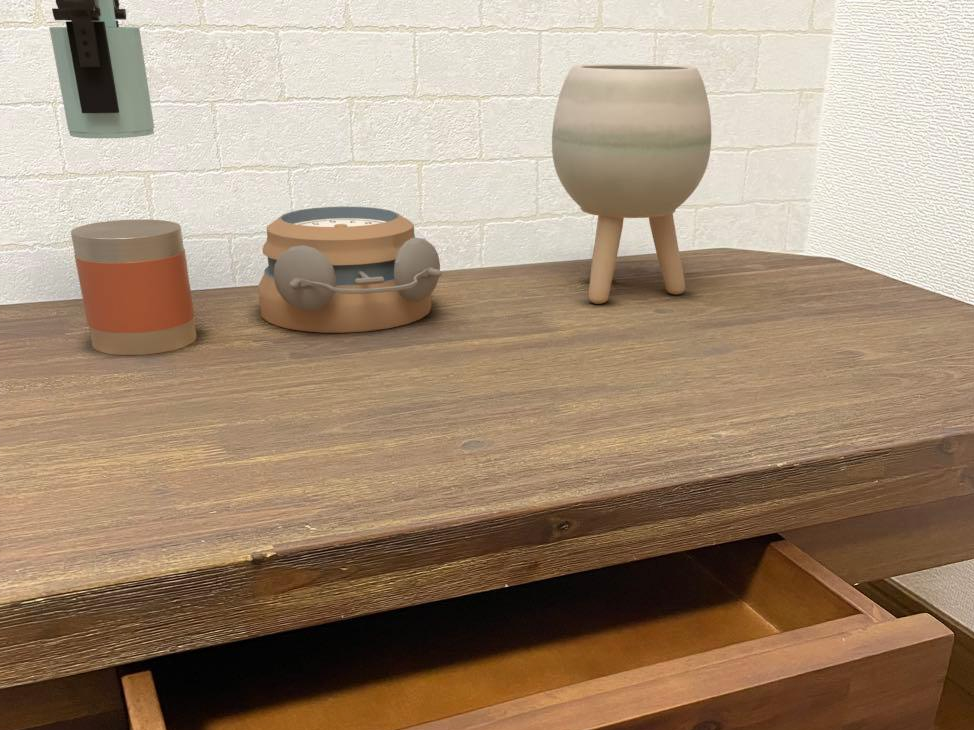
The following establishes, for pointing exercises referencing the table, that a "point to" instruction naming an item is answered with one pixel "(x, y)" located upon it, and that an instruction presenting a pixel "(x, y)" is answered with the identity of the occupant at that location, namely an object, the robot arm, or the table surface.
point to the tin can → (135, 286)
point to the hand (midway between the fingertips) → (107, 108)
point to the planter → (632, 155)
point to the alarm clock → (346, 271)
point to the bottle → (127, 81)
